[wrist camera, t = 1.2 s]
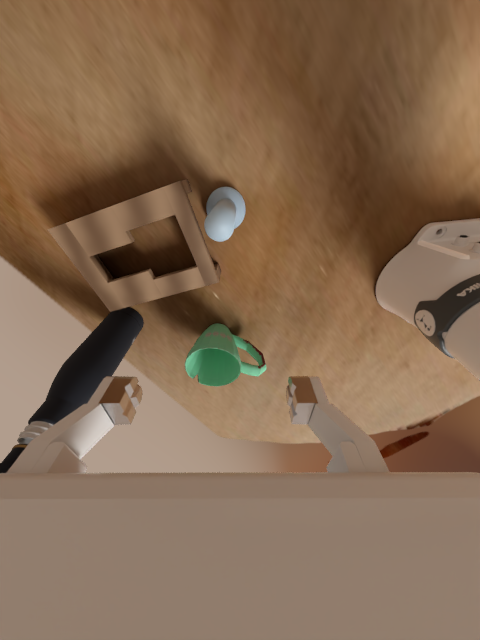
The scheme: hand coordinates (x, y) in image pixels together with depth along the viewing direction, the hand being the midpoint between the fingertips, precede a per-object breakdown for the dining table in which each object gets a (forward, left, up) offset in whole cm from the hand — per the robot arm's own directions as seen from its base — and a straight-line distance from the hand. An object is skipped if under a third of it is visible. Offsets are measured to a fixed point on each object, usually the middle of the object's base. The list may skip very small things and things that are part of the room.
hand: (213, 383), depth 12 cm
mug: (+6, +18, -28) cm, 34 cm away
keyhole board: (+13, -3, -28) cm, 31 cm away
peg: (-1, -5, -28) cm, 28 cm away
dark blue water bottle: (+25, +9, -28) cm, 39 cm away
